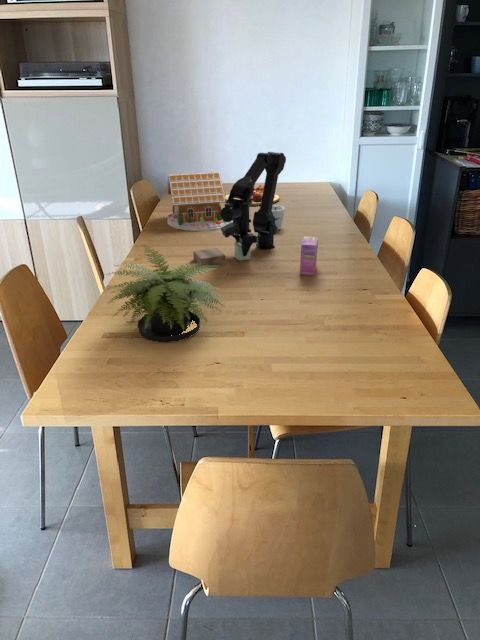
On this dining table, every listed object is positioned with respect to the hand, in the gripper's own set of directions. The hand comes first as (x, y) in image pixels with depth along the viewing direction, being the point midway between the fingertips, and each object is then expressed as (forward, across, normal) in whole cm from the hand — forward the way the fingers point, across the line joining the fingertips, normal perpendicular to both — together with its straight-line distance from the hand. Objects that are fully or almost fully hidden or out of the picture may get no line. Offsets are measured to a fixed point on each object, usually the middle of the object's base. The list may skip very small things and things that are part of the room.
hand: (242, 254), depth 212 cm
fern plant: (+2, +52, -41) cm, 66 cm away
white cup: (+2, -36, +29) cm, 46 cm away
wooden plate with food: (+2, -92, +38) cm, 100 cm away
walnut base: (+2, 0, -14) cm, 14 cm away
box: (+2, +22, +19) cm, 29 cm away
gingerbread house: (+2, -60, -1) cm, 60 cm away
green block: (+2, 0, 0) cm, 2 cm away
